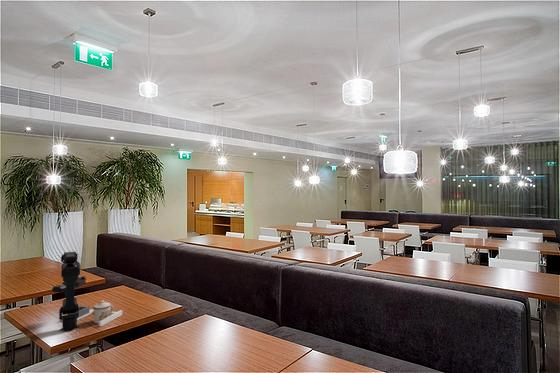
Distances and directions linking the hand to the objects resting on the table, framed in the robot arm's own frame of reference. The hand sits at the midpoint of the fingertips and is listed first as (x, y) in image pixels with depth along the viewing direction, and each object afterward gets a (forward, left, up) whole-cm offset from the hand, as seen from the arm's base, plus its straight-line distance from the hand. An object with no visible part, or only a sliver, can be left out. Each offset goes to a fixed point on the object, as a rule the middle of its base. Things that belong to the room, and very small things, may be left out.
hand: (69, 299), depth 196 cm
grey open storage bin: (+5, -12, -12) cm, 17 cm away
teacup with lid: (+5, -20, -12) cm, 24 cm away
